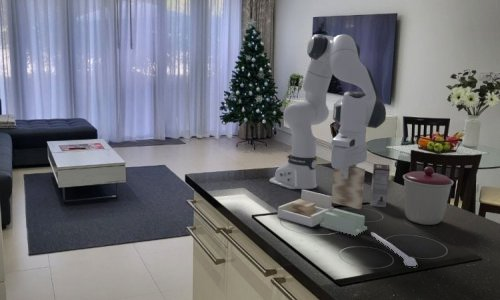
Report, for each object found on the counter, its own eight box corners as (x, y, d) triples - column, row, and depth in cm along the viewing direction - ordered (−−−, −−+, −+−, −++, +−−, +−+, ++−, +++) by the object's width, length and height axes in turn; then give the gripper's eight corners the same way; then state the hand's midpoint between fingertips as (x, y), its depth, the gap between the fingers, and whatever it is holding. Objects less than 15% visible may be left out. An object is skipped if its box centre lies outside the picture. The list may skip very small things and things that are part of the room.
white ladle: (363, 235, 177) (363, 227, 176) (373, 234, 178) (374, 227, 177) (406, 269, 150) (408, 260, 150) (419, 268, 151) (420, 259, 151)
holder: (320, 226, 183) (321, 212, 182) (332, 220, 190) (333, 207, 189) (355, 236, 174) (356, 222, 173) (367, 229, 181) (368, 216, 180)
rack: (277, 217, 190) (278, 196, 189) (299, 208, 202) (300, 188, 200) (311, 227, 181) (313, 205, 180) (332, 217, 193) (334, 197, 191)
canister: (388, 215, 199) (394, 162, 195) (424, 211, 206) (430, 160, 202) (420, 231, 183) (427, 174, 179) (458, 226, 190) (466, 171, 186)
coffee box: (369, 199, 219) (373, 163, 216) (385, 201, 218) (388, 164, 215) (370, 205, 210) (374, 168, 207) (386, 207, 209) (390, 169, 206)
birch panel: (331, 202, 183) (334, 164, 180) (333, 201, 184) (336, 163, 182) (359, 209, 176) (362, 169, 174) (361, 208, 178) (365, 169, 175)
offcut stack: (290, 218, 190) (291, 202, 189) (299, 214, 195) (300, 199, 193) (306, 223, 186) (307, 207, 184) (315, 219, 190) (316, 203, 189)
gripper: (356, 134, 186) (353, 171, 188) (329, 140, 170) (326, 180, 172) (373, 136, 182) (369, 174, 185) (346, 143, 166) (342, 184, 169)
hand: (348, 177), depth 178 cm, fingers closed on birch panel, 2 cm apart
